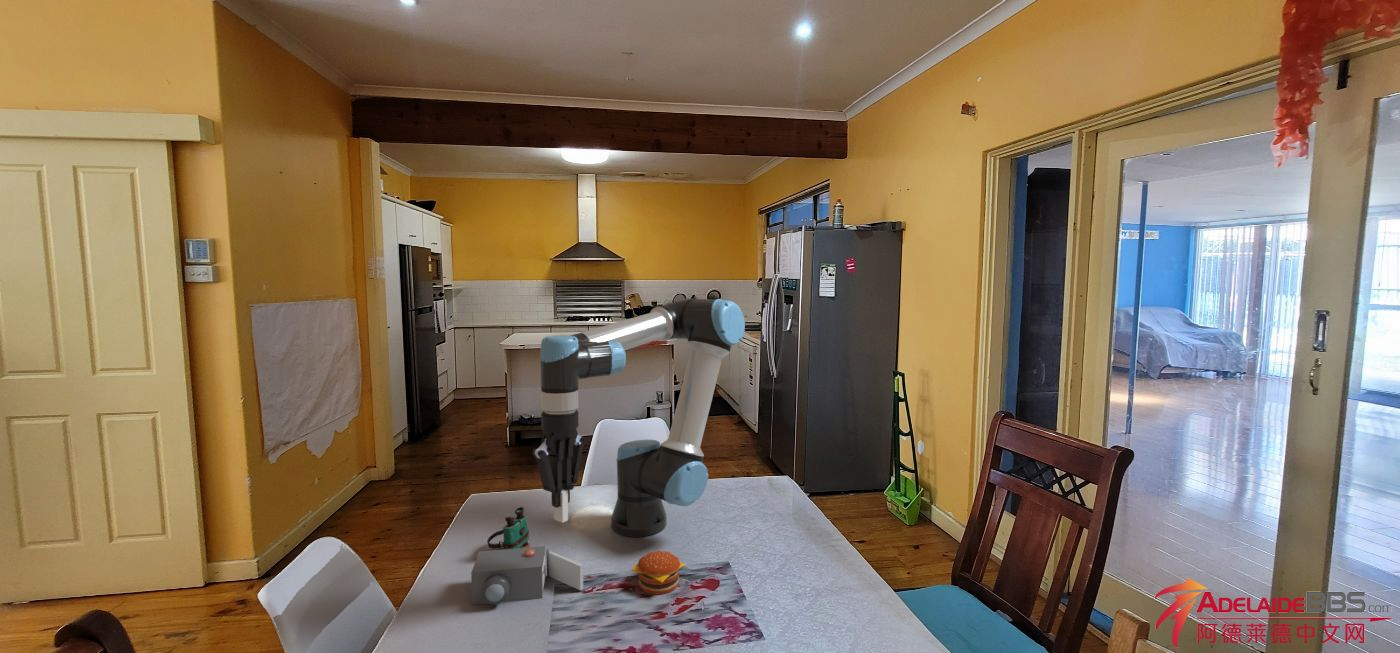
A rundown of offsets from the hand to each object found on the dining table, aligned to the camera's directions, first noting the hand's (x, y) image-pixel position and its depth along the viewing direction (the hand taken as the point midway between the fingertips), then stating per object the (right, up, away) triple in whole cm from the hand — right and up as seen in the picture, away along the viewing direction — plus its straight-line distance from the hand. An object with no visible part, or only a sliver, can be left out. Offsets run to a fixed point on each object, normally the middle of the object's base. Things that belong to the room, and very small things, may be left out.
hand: (561, 519), depth 118 cm
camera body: (-11, -16, +2) cm, 20 cm away
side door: (-1, -16, +6) cm, 17 cm away
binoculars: (-18, -15, +19) cm, 30 cm away
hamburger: (+20, -17, +6) cm, 27 cm away
